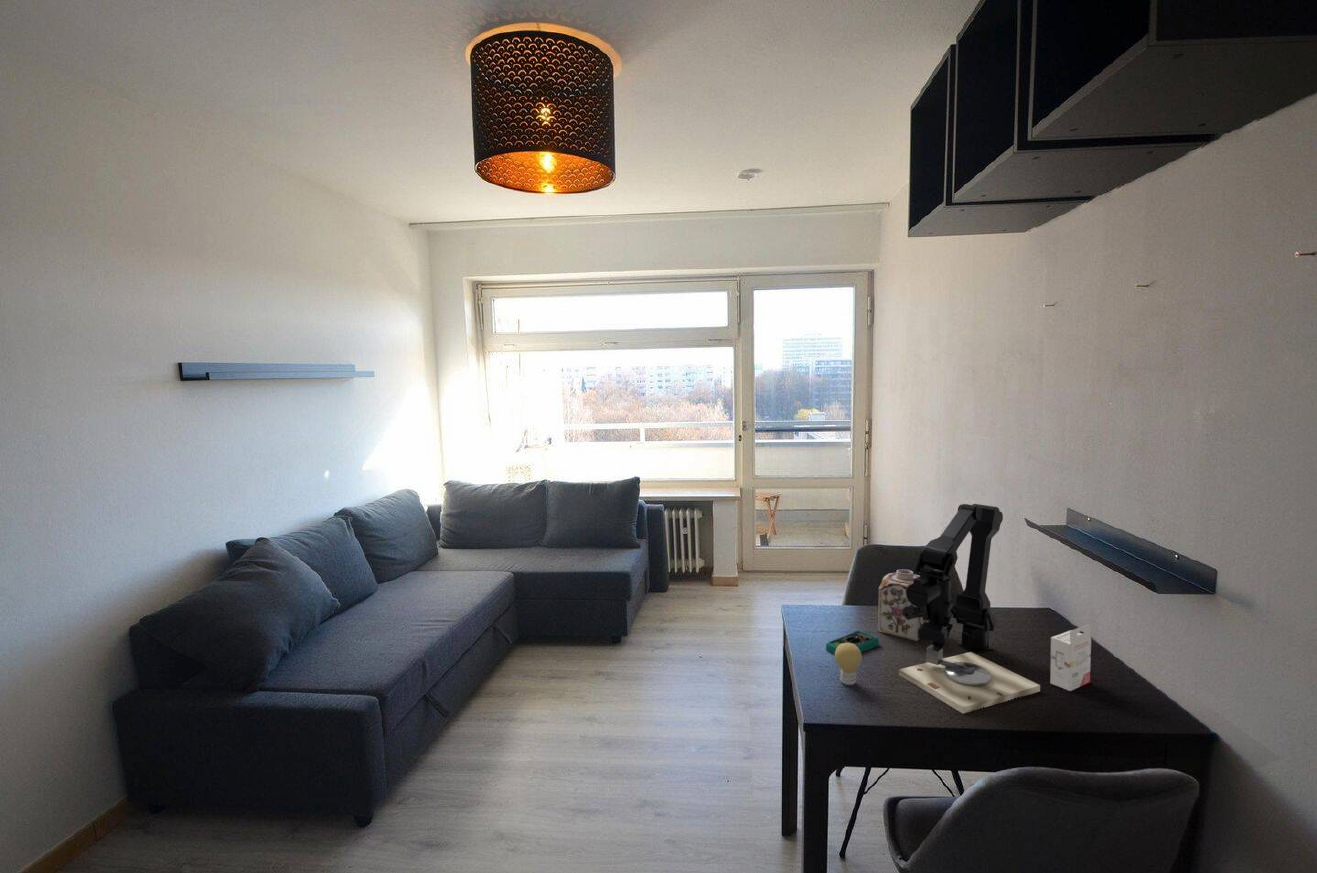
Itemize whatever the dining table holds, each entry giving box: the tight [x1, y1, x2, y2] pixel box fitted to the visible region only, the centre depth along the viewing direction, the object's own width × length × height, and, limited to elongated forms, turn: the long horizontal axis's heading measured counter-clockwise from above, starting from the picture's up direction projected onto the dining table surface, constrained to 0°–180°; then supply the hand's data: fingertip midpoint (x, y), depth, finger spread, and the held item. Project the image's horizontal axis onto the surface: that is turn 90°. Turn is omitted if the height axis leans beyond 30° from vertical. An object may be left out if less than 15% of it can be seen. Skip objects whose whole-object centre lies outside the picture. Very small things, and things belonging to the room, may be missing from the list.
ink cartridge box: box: [1050, 624, 1092, 692], centre depth 152 cm, size 9×5×15 cm, turn 117°
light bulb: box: [834, 643, 863, 686], centre depth 156 cm, size 6×6×10 cm
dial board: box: [898, 651, 1041, 715], centre depth 155 cm, size 24×20×2 cm
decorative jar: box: [877, 568, 928, 642], centre depth 186 cm, size 12×12×18 cm
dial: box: [925, 644, 991, 686], centre depth 156 cm, size 14×10×5 cm
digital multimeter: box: [825, 630, 880, 655], centre depth 176 cm, size 7×15×3 cm, turn 125°
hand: (938, 652), depth 162 cm, fingers closed
